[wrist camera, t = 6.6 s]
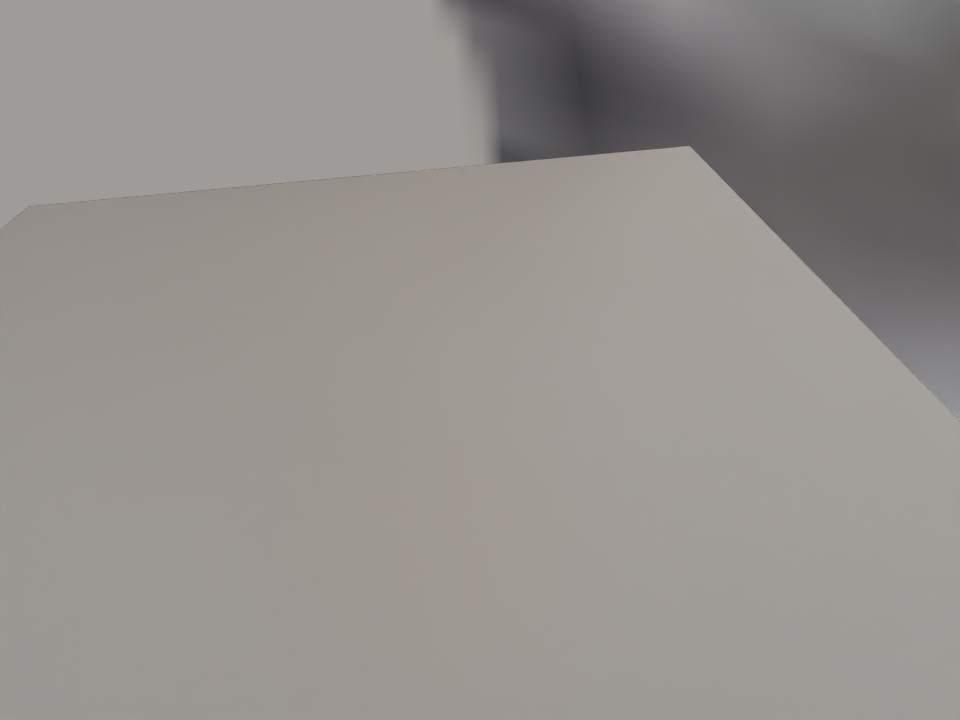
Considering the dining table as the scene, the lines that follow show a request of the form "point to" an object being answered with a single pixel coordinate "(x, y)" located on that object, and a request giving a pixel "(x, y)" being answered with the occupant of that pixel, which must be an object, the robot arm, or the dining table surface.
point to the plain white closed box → (461, 459)
